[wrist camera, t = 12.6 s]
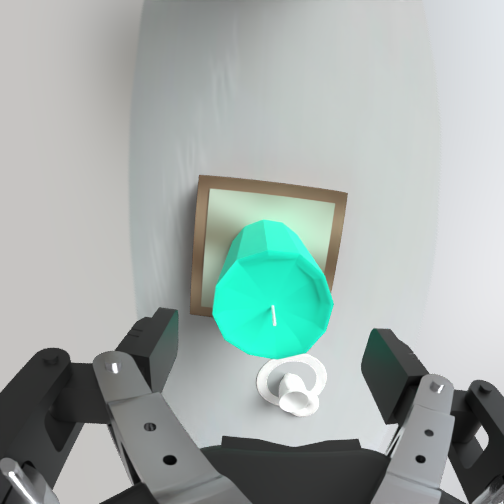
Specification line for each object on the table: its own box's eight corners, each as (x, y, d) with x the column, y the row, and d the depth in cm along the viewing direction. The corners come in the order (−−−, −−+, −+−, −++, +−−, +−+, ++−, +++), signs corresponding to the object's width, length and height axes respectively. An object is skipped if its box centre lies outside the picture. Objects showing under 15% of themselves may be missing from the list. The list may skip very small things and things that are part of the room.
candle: (317, 264, 25) (362, 334, 13) (258, 303, 26) (258, 396, 14) (275, 204, 24) (293, 229, 12) (214, 247, 25) (179, 309, 13)
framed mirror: (206, 175, 27) (198, 175, 23) (336, 190, 27) (348, 193, 24) (196, 299, 30) (189, 315, 26) (316, 311, 30) (323, 328, 26)
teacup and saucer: (319, 407, 34) (324, 430, 30) (254, 408, 34) (254, 431, 30) (330, 350, 32) (339, 371, 28) (258, 349, 32) (258, 371, 28)
